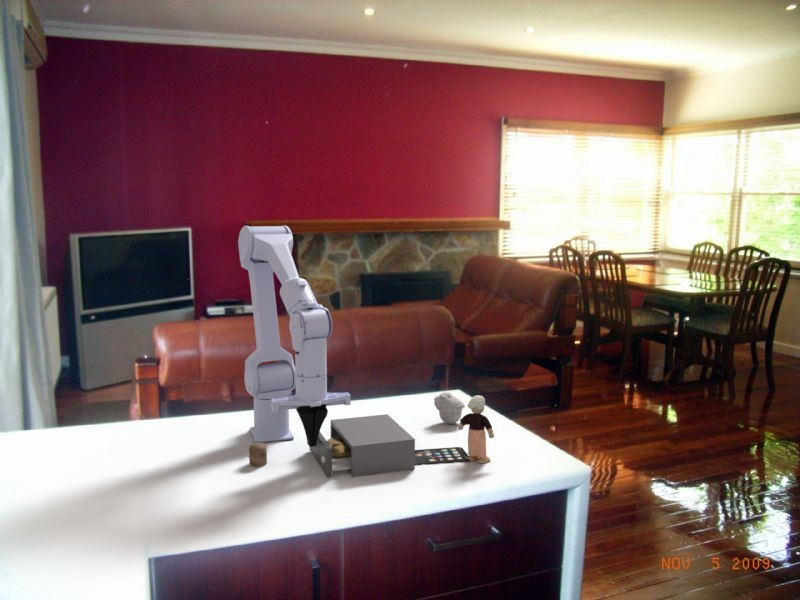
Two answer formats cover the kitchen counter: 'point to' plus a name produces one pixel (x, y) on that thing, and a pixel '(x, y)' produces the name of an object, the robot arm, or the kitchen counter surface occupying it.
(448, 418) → the grey rounded lumpy piece
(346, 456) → the disc
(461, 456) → the smartphone
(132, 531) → the kitchen counter surface
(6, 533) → the kitchen counter surface
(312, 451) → the tray
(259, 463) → the brown domed cylinder
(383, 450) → the housing
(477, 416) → the grandmother figurine
